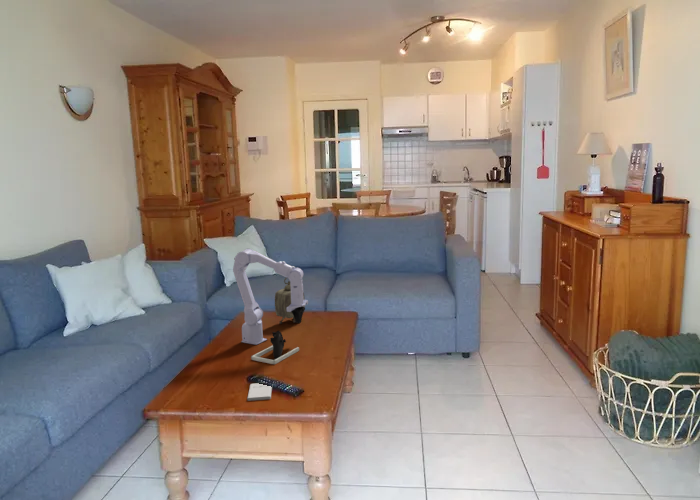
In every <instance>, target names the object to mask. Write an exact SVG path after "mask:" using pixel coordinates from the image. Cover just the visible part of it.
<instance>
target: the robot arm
mask: <svg viewBox="0 0 700 500" xmlns="http://www.w3.org/2000/svg"><path fill="white" fill-rule="evenodd" d="M256 263H259V264H261V265H264V266H266V267H269V268H271V269H273V271H274V272H275V274H278V275H280V276H282V277H284V278H287V279H288V281H290V282H291V285H290V286H291V304H290V305H289V306H288V307H287V312H292V314H293V316H294V318H295V319H294V320H295V324H301V323H302V321H303V320H302V319H303V315H304V313H305V310H306V306H307V305H309V300H308V299H305V300H304V299H303V292H304V284H303V277H304V275H305V274H304V270H302V269H301V268H300V267H295V266H294V265H290V264H287V262H286V261H284V260H283V261H275V260H274V259H272V258H271V257H267V256H265V255H264V254H262V253H260V252H258V251H257V250H254V249H253V248H245V249H244V250H241V251H238V253H237V254H236V255H235V257H234V261H233V267H232V272H233V275H234V277H235V281H236V284H237V287H238V290H239V293H240V295H241V296H240V297H241V298H242V301H243V305H244V308H243V313H244V318H243V319H244V323H242V326H241V339H242V340H241V341H240V342H241V343H244V344H249V345H255V346H256V345H259V344H262V343H263V342H265V341H267V340H268V339H267V338H264V335H263V320H262V318H263V317H264V311H263V309H262V308H261V307H260V305H259V304H258V302H257V301H256V300H255V297H254V293H253V291H252V287H251V284H250V281H249V278H248V275H247V272H246V270H247V268H248V266H249V264H250V265H251V264H256ZM302 306H305V307H302Z"/></svg>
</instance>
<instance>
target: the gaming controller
mask: <svg viewBox="0 0 700 500" xmlns="http://www.w3.org/2000/svg"><path fill="white" fill-rule="evenodd" d="M271 334H272V337H270V340H269V341H270V343H271V344H272V345H273V350H272V355H273V360H275V359H277V358H279V357H281V356H282V354H283V351H284V347H285V343H287V341H286V339H284V338H283V337H284V336H283V334H282V332H281V331H280V330H277V331H272V333H271Z"/></svg>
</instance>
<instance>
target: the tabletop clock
mask: <svg viewBox="0 0 700 500" xmlns="http://www.w3.org/2000/svg"><path fill="white" fill-rule="evenodd" d="M287 279H288V278H286V277H284V281H283V282H284V284H285V286H284V287H283V288H281V289H279V290H277V291H276V292H275V294H274V309H275V315H276V316H277V317H280V318H281V317H282V319H281V320H280V321H279V324H280V325H282V324H283V321H284V319H285V318H286V319H292V322H293V323H294V324H296V322H295V318H294V316H293V314H292V312H287V307H288V306H289V305H290V304H291V286H290V285H291V282H290V280H288V281H287V282H286V280H287ZM303 299H304V300H306V299H305V293H304V291H303ZM302 307H305V308H306V306H302Z"/></svg>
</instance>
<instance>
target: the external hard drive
mask: <svg viewBox="0 0 700 500" xmlns="http://www.w3.org/2000/svg"><path fill="white" fill-rule="evenodd" d="M259 383H260V382H257V383H250V385H249V390H248V394H247V401H251V402H252V401H263V400H271V399H272V391H273V386H272V387H271V386H267V385H263V384H259Z"/></svg>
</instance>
